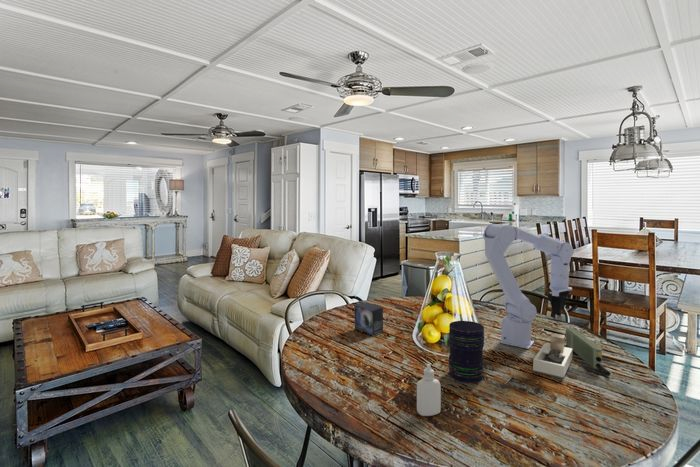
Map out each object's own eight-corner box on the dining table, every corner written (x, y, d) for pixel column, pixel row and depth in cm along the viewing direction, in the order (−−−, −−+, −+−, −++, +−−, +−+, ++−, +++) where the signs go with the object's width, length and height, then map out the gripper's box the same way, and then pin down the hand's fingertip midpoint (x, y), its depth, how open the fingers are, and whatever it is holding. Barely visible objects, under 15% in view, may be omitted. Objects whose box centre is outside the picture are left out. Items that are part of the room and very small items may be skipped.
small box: (353, 330, 151) (353, 304, 150) (365, 326, 156) (364, 301, 155) (372, 336, 144) (372, 309, 143) (384, 332, 148) (383, 306, 147)
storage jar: (483, 370, 114) (484, 322, 113) (483, 385, 105) (484, 333, 103) (449, 366, 117) (450, 319, 116) (447, 380, 108) (447, 329, 107)
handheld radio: (574, 345, 133) (615, 378, 108) (564, 345, 133) (602, 378, 109) (574, 326, 132) (615, 355, 108) (564, 327, 133) (602, 355, 108)
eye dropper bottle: (417, 406, 95) (417, 359, 94) (440, 408, 93) (441, 362, 92) (416, 415, 91) (416, 367, 90) (440, 418, 89) (440, 369, 88)
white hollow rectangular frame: (563, 378, 108) (563, 366, 108) (533, 371, 113) (533, 359, 113) (572, 359, 120) (572, 348, 120) (544, 353, 125) (544, 342, 125)
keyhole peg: (547, 360, 119) (548, 336, 119) (550, 355, 123) (551, 332, 122) (563, 363, 117) (564, 339, 116) (565, 359, 120) (566, 335, 120)
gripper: (568, 279, 128) (567, 318, 129) (575, 272, 139) (574, 308, 140) (545, 277, 132) (544, 315, 133) (554, 270, 143) (552, 305, 144)
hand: (558, 311), depth 137 cm, fingers open, 7 cm apart
